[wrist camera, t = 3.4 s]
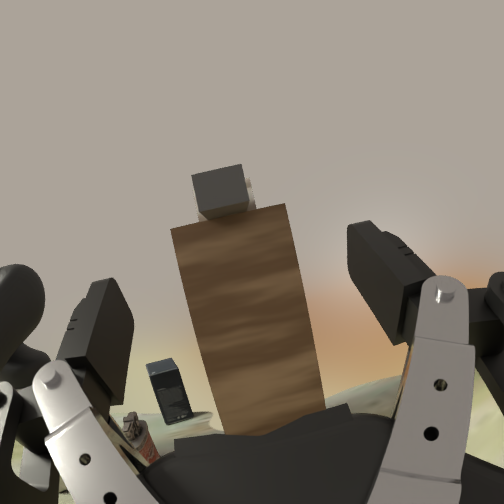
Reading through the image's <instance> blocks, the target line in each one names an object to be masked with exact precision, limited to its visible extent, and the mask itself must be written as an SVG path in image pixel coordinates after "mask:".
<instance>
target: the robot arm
mask: <svg viewBox="0 0 504 504" xmlns="http://www.w3.org/2000/svg"><path fill="white" fill-rule="evenodd" d="M347 264H348V271H349V274H350V277H351V279H352V281H353V283H354V284H355V286H356V287H357V289H358V290H359V292H360V293H361V295H362V296H363V298H364V300H365V301H366V303H367V304H368V306H369V307H370V309H371V310H372V312H373V313H374V315H375V317H376V318H377V320H378V321H379V323H380V325H381V326H382V328H383V330H384V331H385V333H386V334H387V336H388V338H389V339H390V341H391V342H392V344H393V345H394V346H395V345H398V344H400V343H403V342H406V343H407V345H408V346H409V348H408V352H407V356H406V361H405V365H404V369H403V373H402V378H401V382H400V385H399V389H398V393H397V397H396V400H395V404H394V407H393V410H392V413H391V416H390V418H389V417H385V416H381V415H376V414H367V413H355V414H351V412H350V409H349V407H348V404H347V403H345V404H342V405H339V406H335V407H332V408H329V409H325V410H322V411H318V412H315V413H311V414H307V415H304V416H302V417H300V418H298V419H296V420H294V421H292V422H290V423H288V424H286V425H284V426H282V427H280V428H278V429H276V430H274V431H272V432H270V433H267V434H265V435H261V436H247V435H225V434H211V435H204V436H197V437H189V438H181V439H174V450H175V451H173V452H171V453H168V454H166V455H164V456H162V457H160V458H159V459H157V460H155V461H154V462H153V463H151V464H149V463H148V462H147V461H146V460H145V459H144V457H143V456H142V455H141V454H140V453H139V452H138V450H137V449H136V448H135V447H134V445H133V444H132V443H131V441H130V440H129V439H128V437H127V436H126V435H125V434H124V432H123V431H122V429H121V428H120V427H119V425H118V424H117V423H116V421H115V420H114V418H113V417H112V416H111V415H110V414H109V411H110V406H114V405H123V401H124V393H125V385H126V377H127V371H128V364H129V357H130V351H131V345H132V339H133V333H134V319H133V316H132V313H131V310H130V308H129V307H128V304H127V302H126V301H125V298H124V296H123V294H122V292H121V290H120V288H119V286H118V284H117V282H116V280H115V279H113V278H108V279H104V280H99V281H95V282H92V284H91V286H90V288H89V291H88V293H87V296H86V298H84V299H82V300H81V302H80V303H79V304H78V305H77V307H76V308H75V309H74V311H73V314H72V316H71V319H70V322H69V324H68V327H67V331H66V332H65V335H64V338H63V340H62V343H61V346H60V349H59V351H58V354H57V358H56V360H55V361H51V360H50V358H49V356H48V355H47V354H46V353H44V352H42V351H38V350H35V349H32V348H30V347H28V346H27V345H25V344H24V343H23V341H24V340H25V339H26V338H27V337H28V336H29V335H30V334H31V333H32V332H33V330H34V329H35V328H36V327H37V325H38V324H39V322H40V320H41V318H42V315H43V311H44V307H45V292H44V287H43V284H42V281H41V279H40V277H39V276H38V274H37V273H36V272H35V271H34V270H33V269H31V268H29V267H28V266H25V265H20V264H13V265H8V266H5V267H1V268H0V504H58V497H59V492H61V491H64V490H68V491H69V492H70V494H71V496H72V498H73V500H74V501H75V503H76V504H504V469H503V468H501V467H498V466H496V465H493V464H491V463H489V462H486V461H484V460H481V459H479V458H477V457H474V456H472V455H470V454H467V453H465V449H466V443H467V437H468V431H469V424H470V416H471V408H472V398H473V386H474V371H475V368H476V369H477V371H478V372H479V374H480V376H481V377H482V379H483V381H484V382H485V384H486V386H487V387H488V389H489V391H490V392H491V394H492V396H493V398H494V399H495V401H496V403H497V405H498V406H499V408H500V410H501V412H502V414H503V416H504V272H497V273H494V274H493V275H492V276H491V277H490V279H489V283H488V286H487V288H475V289H466V287H465V286H464V285H463V283H461V282H460V281H459V280H457V279H455V278H452V277H449V276H437V275H436V274H435V273H434V272H433V271H432V270H431V269H430V268H429V267H428V266H427V265H426V264H425V263H424V262H423V261H422V260H421V259H420V258H419V257H418V256H417V255H416V254H414V252H413V251H412V250H411V249H410V248H409V247H407V245H406V244H405V243H404V242H403V241H402V240H401V239H400V238H399V237H397V236H395V235H393V234H391V233H389V232H387V231H384V232H381V231H380V230H379V229H378V228H377V227H376V226H375V225H374V224H373V223H372V222H371V221H370V220H368V221H364V222H359V223H354V224H350V225H348V227H347ZM15 440H16V441H18V442H19V443H20V444H21V445H23V446H24V449H23V455H22V462H21V468H20V475H19V477H17V476H16V475H15V473H14V472H13V470H12V466H11V459H12V453H13V448H14V443H15Z"/></svg>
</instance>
